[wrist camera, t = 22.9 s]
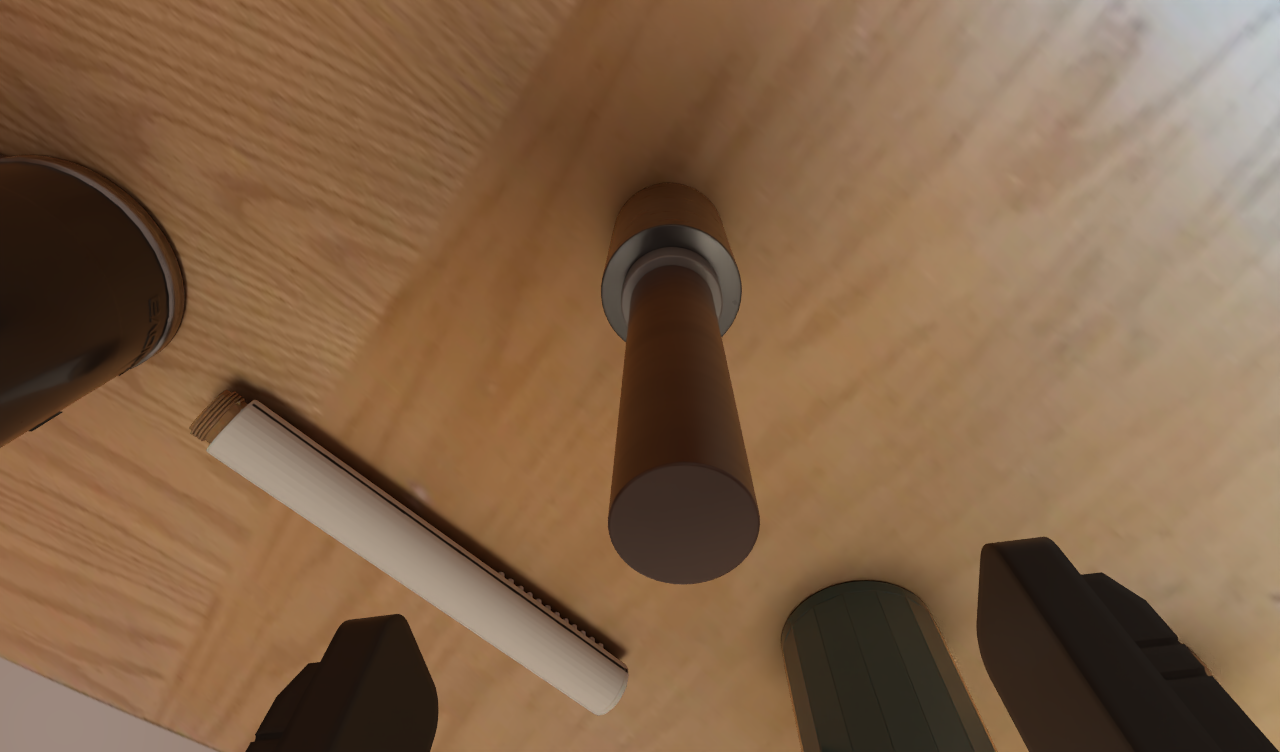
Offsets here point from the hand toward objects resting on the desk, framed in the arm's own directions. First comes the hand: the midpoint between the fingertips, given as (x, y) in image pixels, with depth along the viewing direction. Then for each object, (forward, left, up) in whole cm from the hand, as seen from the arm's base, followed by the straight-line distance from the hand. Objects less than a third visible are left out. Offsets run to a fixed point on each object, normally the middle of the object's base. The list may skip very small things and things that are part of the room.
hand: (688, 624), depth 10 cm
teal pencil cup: (+22, -12, -21) cm, 33 cm away
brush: (0, 0, -21) cm, 21 cm away
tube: (0, -20, -22) cm, 29 cm away
